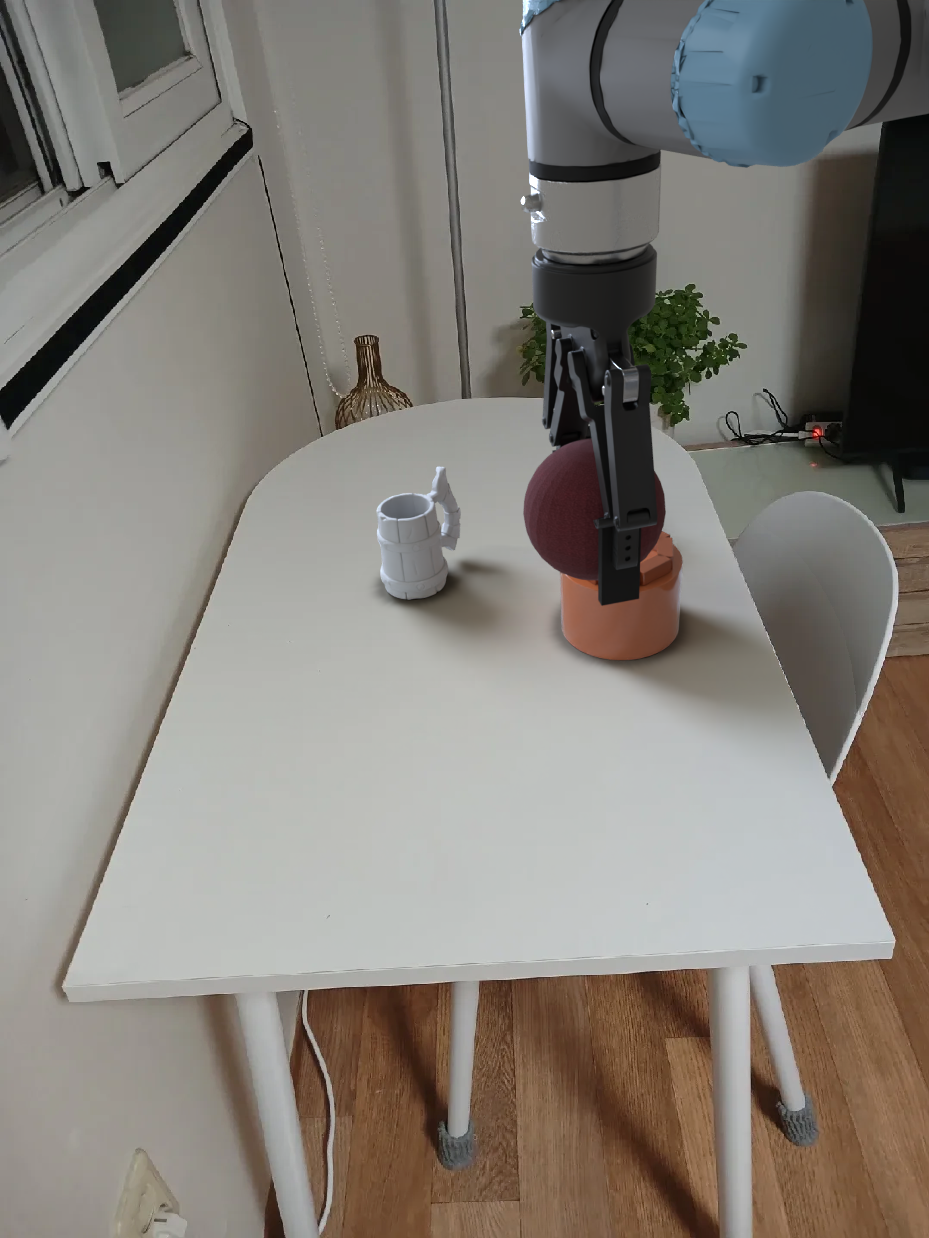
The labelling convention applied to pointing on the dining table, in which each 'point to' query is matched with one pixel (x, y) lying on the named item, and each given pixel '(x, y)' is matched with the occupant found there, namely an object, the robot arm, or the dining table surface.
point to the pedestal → (626, 610)
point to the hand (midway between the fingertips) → (594, 560)
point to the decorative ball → (574, 511)
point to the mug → (417, 539)
